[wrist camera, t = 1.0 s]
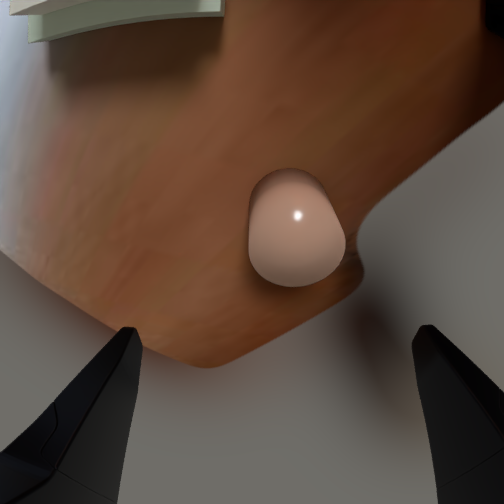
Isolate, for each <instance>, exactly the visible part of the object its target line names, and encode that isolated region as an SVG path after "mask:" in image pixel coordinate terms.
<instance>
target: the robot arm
mask: <svg viewBox="0 0 504 504" xmlns="http://www.w3.org/2000/svg"><path fill="white" fill-rule="evenodd" d="M492 23H493V27H492ZM486 27H487V28H488V30H490V31H491V32H493V33H495V34H496V35H498V36H500V37H502V38H503V39H504V0H486ZM142 351H143V347H142V342H141V340H140V337H139V334H138V332H137V329H136V328H134V327H123V328H121V329H120V330H119V331H118V332H117V333H116V334H115V335H114V336H113V338H112V339H111V340H110V341H109V342H108V343H107V344H106V345H105V346H104V347H103V348H102V349H101V350H100V351H99V352H98V353H97V354H96V355H95V357H94V358H93V359H92V360H91V361H90V362H89V363H88V364H87V365H86V366H85V367H84V368H83V369H82V370H81V372H80V373H79V374H78V375H77V376H76V377H75V378H74V379H73V380H72V381H71V382H70V383H69V384H68V386H67V387H66V388H65V389H64V390H63V391H62V392H61V393H60V394H59V395H58V397H57V398H56V399H55V400H54V402H52V403H51V404H50V405H49V406H48V408H47V409H46V410H45V411H44V412H43V413H42V414H41V415H40V416H39V417H38V418H37V419H36V420H35V421H34V422H33V423H32V424H31V425H30V426H29V427H28V428H27V429H26V430H25V431H24V432H23V433H21V435H19V436H18V437H17V438H16V439H15V440H14V441H13V442H12V443H11V444H9V445H8V446H7V447H6V448H5V449H4V450H3V451H1V452H0V504H117V500H118V494H119V487H120V481H121V474H122V469H123V463H124V458H125V452H126V447H127V442H128V437H129V431H130V427H131V422H132V417H133V412H134V408H135V403H136V398H137V393H138V385H139V376H140V367H141V359H142ZM412 353H413V359H414V366H415V372H416V379H417V386H418V391H419V395H420V399H421V403H422V408H423V413H424V417H425V422H426V427H427V432H428V437H429V443H430V449H431V454H432V461H433V467H434V473H435V481H436V488H437V498H438V504H504V392H503V391H502V390H501V389H499V387H498V386H497V385H496V384H495V383H494V382H493V381H492V380H491V379H490V378H489V377H488V376H487V375H486V374H484V372H483V371H482V370H481V369H480V368H478V367H477V365H475V364H474V363H473V362H472V361H471V360H470V359H469V358H468V357H467V356H466V355H465V354H464V353H463V352H462V351H461V350H460V349H458V348H457V347H456V346H455V345H454V344H453V343H452V342H451V341H450V340H449V339H448V338H447V337H446V336H444V335H443V334H442V333H441V332H440V331H439V330H438V329H437V328H436V327H435V326H433V325H422V326H421V327H420V328H419V330H418V332H417V333H416V335H415V337H414V339H413V341H412Z"/></svg>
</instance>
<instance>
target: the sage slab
mask: <svg viewBox="0 0 504 504" xmlns="http://www.w3.org/2000/svg"><path fill="white" fill-rule="evenodd" d="M224 13H225V0H93V1H89V2H85V3H81V4H77V5H73V6H70V7H66V8H63V9H60V10H56V11H53V12H50V13H47V14H44V15H28V43H35V42H44V41H51V40H54V39H58V38H62V37H65V36H69V35H73V34H77V33H82V32H86V31H91V30H95V29H100V28H105V27H111V26H116V25H122V24H129V23H136V22H143V21H152V20H162V19H173V18H189V17H224Z"/></svg>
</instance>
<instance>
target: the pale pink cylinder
mask: <svg viewBox="0 0 504 504" xmlns="http://www.w3.org/2000/svg"><path fill="white" fill-rule="evenodd" d="M344 251H345V236H344V232H343V230H342V228H341V225H340V223H339V221H338V218H337V216H336V214H335V212H334V209H333V207H332V205H331V203H330V201H329V198H328V196H327V194H326V192H325V190H324V188H323V186H322V184H321V183H320V182H319V181H318V180H317V179H316V178H315V177H314V176H313V175H311V174H309V173H308V172H305V171H303V170H299V169H292V168H287V169H280V170H276V171H274V172H271V173H269V174H267V175H266V176H265V177H263V178H262V179H261V180H260V181H259V182H258V183H257V184H256V186H255V187H254V189H253V191H252V193H251V196H250V201H249V257H250V261H251V263H252V265H253V267H254V269H255V270H256V271H257V272H258V273H259V274H260V275H261V276H262V277H263V278H265V279H266V280H268V281H270V282H272V283H274V284H277V285H281V286H287V287H299V286H306V285H310V284H313V283H316V282H318V281H320V280H322V279H324V278H325V277H327V276H328V275H329V274H330V273H332V272H333V271H334V270H335V268H336V267H337V266H338V265H339V263H340V262H341V260H342V258H343V255H344Z"/></svg>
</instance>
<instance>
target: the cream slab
mask: <svg viewBox="0 0 504 504" xmlns="http://www.w3.org/2000/svg"><path fill="white" fill-rule="evenodd" d="M89 1H93V0H10V11H9V15H44V14H47V13H50V12H53V11H56V10H60V9H63V8H66V7H70V6H73V5H77V4H81V3H85V2H89Z"/></svg>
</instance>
